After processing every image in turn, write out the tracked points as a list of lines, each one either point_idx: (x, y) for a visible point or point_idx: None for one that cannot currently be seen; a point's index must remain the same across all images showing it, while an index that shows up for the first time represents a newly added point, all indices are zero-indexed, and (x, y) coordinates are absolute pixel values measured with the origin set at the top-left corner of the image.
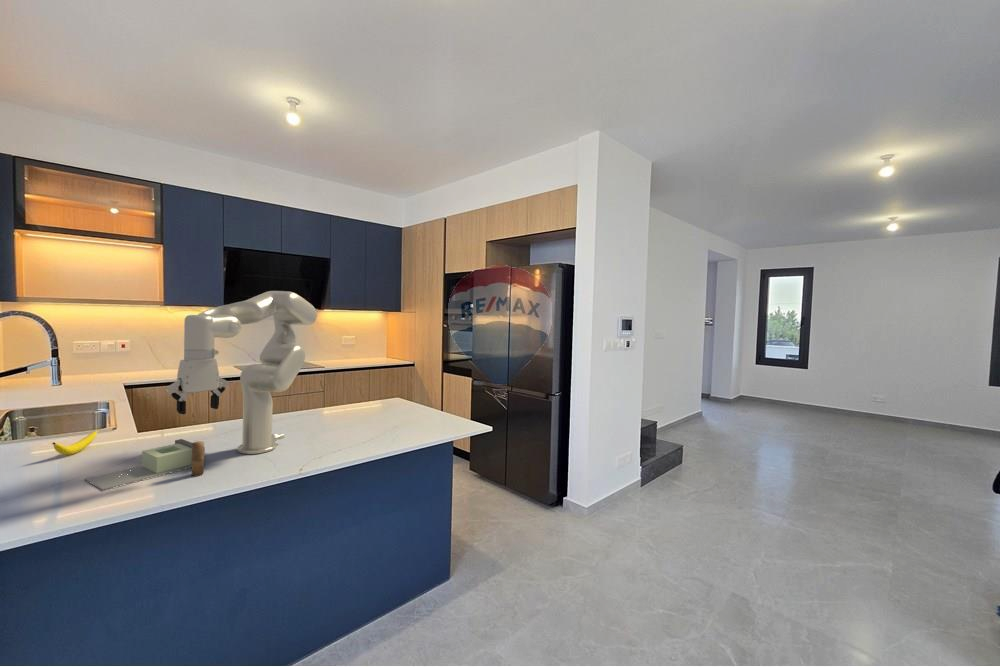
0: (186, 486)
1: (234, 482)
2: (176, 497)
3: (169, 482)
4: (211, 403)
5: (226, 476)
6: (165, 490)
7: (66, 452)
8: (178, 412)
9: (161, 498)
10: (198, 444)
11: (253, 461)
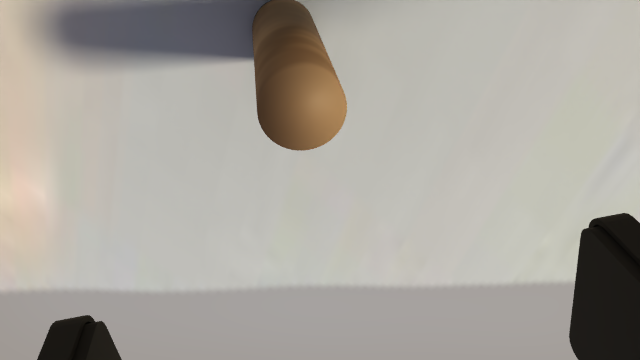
0: (195, 173)
1: (373, 254)
2: (137, 270)
3: (131, 56)
4: (625, 305)
5: (381, 162)
6: (103, 162)
7: None
8: (60, 333)
9: (81, 245)
10: (293, 147)
11: (597, 18)
